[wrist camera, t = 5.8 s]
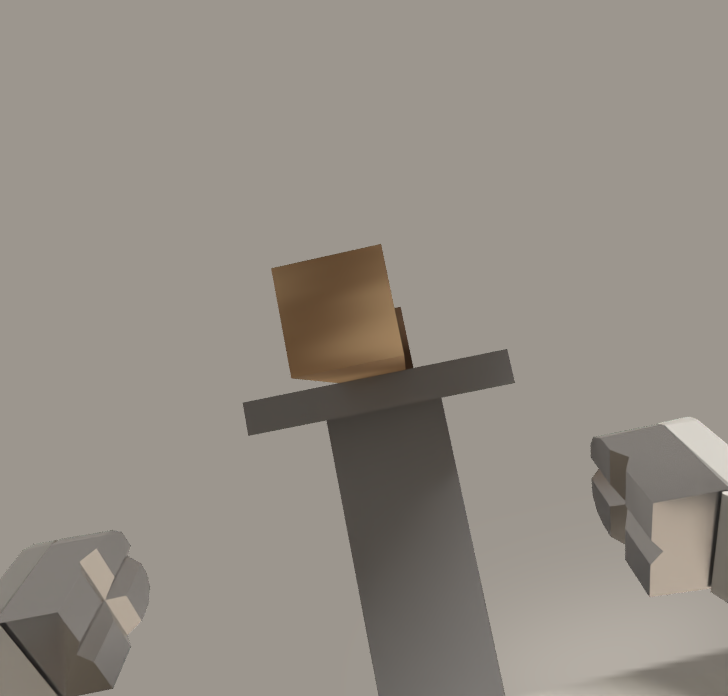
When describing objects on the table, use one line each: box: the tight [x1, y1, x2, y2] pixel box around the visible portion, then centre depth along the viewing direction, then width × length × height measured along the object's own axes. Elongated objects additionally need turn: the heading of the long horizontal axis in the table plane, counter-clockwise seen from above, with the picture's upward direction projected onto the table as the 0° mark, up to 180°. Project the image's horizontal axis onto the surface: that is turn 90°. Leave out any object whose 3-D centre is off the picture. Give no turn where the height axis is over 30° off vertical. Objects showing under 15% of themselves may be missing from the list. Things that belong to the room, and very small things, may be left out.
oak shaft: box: [272, 244, 413, 383], centre depth 23 cm, size 4×20×4 cm, turn 175°
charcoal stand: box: [243, 349, 515, 696], centre depth 27 cm, size 12×13×26 cm
